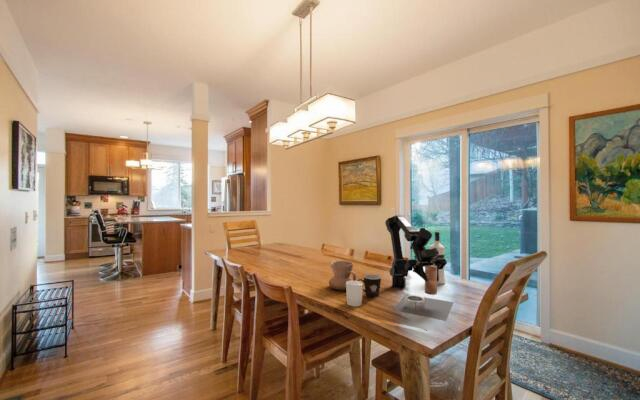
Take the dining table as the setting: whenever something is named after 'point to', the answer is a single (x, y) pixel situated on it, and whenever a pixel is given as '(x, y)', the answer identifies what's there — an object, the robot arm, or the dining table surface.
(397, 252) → the robot arm
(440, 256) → the vodka
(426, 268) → the terracotta plug
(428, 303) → the charcoal mat
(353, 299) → the white cup
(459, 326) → the dining table surface
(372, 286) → the coffee mug
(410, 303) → the stone sleeve
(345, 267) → the ceramic jug
